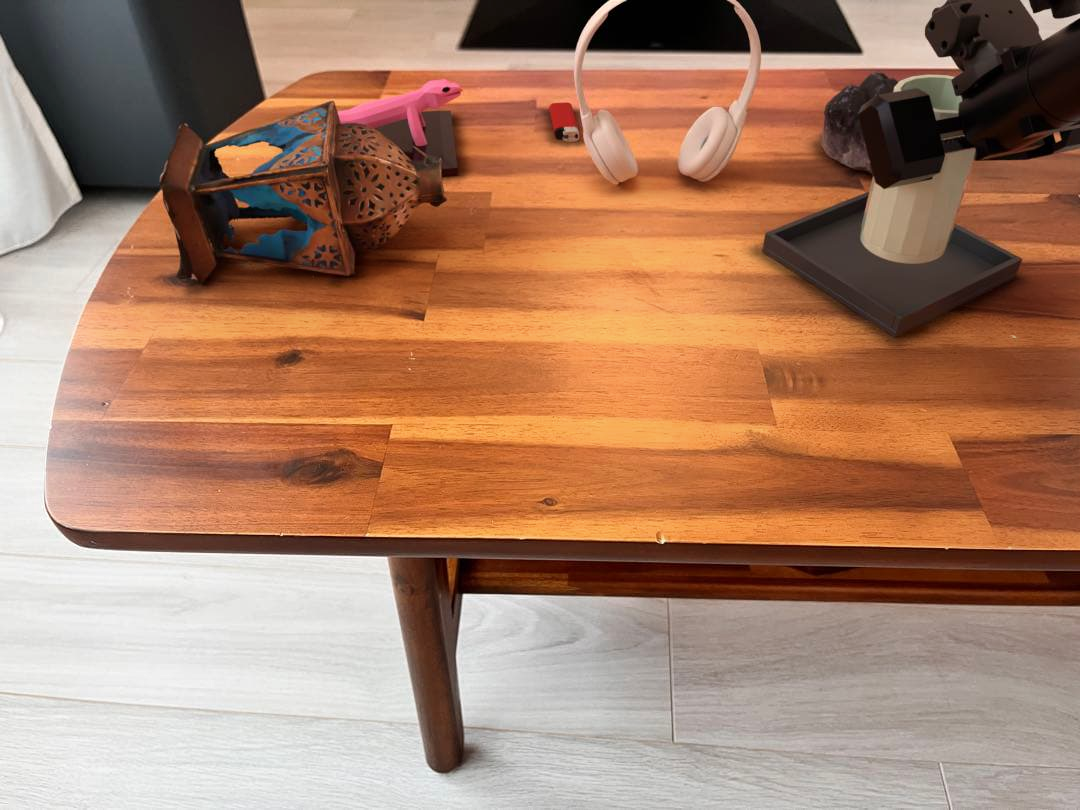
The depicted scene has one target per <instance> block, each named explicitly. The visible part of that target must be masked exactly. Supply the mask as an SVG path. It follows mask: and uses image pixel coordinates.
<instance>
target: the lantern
mask: <svg viewBox="0 0 1080 810" xmlns="http://www.w3.org/2000/svg"><path fill="white" fill-rule="evenodd" d="M337 111H338V108H337V106H336V103H335V101H334V100H329V101H327V102H323V103H321V104H317V105H315V106H312V107H310V108H306V109H304V110H301V111H298V112H297V111H296V112H295V113H292V114H289V115H285V116H283V117H281V118H277V119H275V120H272V121H269V122H267V123H264V124H261V125H258V126H256V127H252V128H250V129H247V130H244V131H241V132H239V133H235V134H233V135H230V136H227V137H225V138H222V139H219V140H216V141H215V142H210V143H206V144H205V143H204V141H203V140H202V139H203V138H201V137H200V136H199V135H198V134H197V133H196V132H194V131H193V129H191V128H190V127H189V124H187V123H185V122H184V121H182V122H181V123H180V125H179V127H178V131H177V134H176V136H175V141H174V143H173V145H172V148H171V150H170V152H169V154H168V157H167V160H166V162H165V164H164V167H163V171H162V173H161V174H160V176H159V187H160V190H161V192H162V202H163V205H164V208H165V210H166V212H167V214H168V217H169V219H170V221H171V224H172V226H173V229H174V233H175V238H176V243H177V248H178V252H179V256H180V257H179V258H180V259H179V268H178V271H177V273H176V278H177V279H178V280H183V279H184V280H185V279H186V280H187V279H188V280H195V281H197V284H198V285H202V284H204V283H205V282H206V280H207V278H208V277H209V275H210V274H211V273H212V272H213V271H214V269H215V267H216V266H217V264H218V260H219V259H222V258H223V259H227V260H231V261H239V262H243V263H253V264H259V265H267V266H273V267H279V268H287V269H297V270H304V271H306V272H307V271H310V272H318V273H325V274H332V275H336V276H337V275H339V276H343V277H351V276H354V275H355V263H356V260H355V258H356V253H357V252H366V251H367V252H368V251H373V250H376V249H378V248H379V247H381V246H383V245H384V244H386V243H387V242H388V241H390V240H391V239H392V238H393V237H394V236H396V235H397V234H398V232H399V231H400V230H401V229H402V228H403V227H404V225H405V224H406V222H407V221H408V220H409V218H410V217H411V216H412V214H413V213H414V212H415V211H416V209H417V208H418V207H419V206H420V205H421V204H429V205H431V206H432V207H435V208H436V207H437V208H438V207H440V206H441V205H442V204H444V203H445V202H447V200H448V199H447V197H446V196H444V195H445V188H444V187H445V186H444V183H443V176H442V173H441V164H442V159H440V158H438V157H435V156H428V155H426V154H425V153H423V152H422V151H421V150H419V149H418V148H416V147H415V146H413V145H411V144H409V143H408V142H406V141H405V140H404V142H406V143H407V144H408V145H410V146H411V147H413V148H414V149H416V150H417V152H418V153H421V154H422V155H423V158H424V161H423V162H422V163H420V164H415V163H413V161H412V160H411V159H410V158H409V157H407V156H406V155H405V154H404V153H403V151H402V150H401V149H400V148H399V147H398V146H397V145H395V144H394V143H393V142H392V141H391V140H389V139H388V138H386V137H385V136H384V135H382V134H381V133H380V132H379V131H377V130H375V129H374V128H372V127H370V126H367V125H364V124H359V123H344V124H343V123H342V124H341V122H340V119H339V116H338V112H337ZM258 143H268V144H267V145H268V146H269V147H275V148H278V149H280V150H282V152H281V153H279V154H277V155H275V156H274V157H272V158H271V159H270V160H269V161H267V162H264V163H262V164H261V165H259V166H258V167H256V168H255V169H254V170H253V171H252V173H249V174H244V175H239V176H234V177H230V176H229V175H227V173H225V172H224V171H223V166H222V164H220V161H219V157H218V156H216V151H217V150H219V149H222V148H225V147H227V146H228V147H229V148H230V147H233V146H235V147H238V148H241V147H248V146H250V145H254V144H258ZM237 201H238V202H239V203H245V204H247V205H248V206H247V207H243V206H242V207H241V206H239V205H238V202H237ZM280 218H282V219H285V218H286V219H287V218H292V219H293V220H296V221H299V222H301V223H303V225H304V226H307V230H295V231H293V230H290V229H284V228H282V229H279V230H277V232H276V233H274V234H272V235H271V234H268V233H265V232H264V233H263V234H262V235H258V236H257V237H256V238H257V241H258V243H255V242H247V243H245V244H244V245H243V246H242V249H240V250H238V251H236V249H235V248H234V247H232V246H231V245H229V246H228V247H227V249H224V248H223V246H224V244H225V237H226V238H227V241H230V242H232V243H234V242H235V240H234V236H235V234H236V233H235V229H236V228H235V227H234V226H233V225H232V224H230V222H231V221H233V220H234V221H235V220H238V221H239V220H248V219H251V220H253V219H280Z"/></svg>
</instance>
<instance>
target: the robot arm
mask: <svg viewBox="0 0 1080 810" xmlns="http://www.w3.org/2000/svg"><path fill="white" fill-rule="evenodd" d="M1028 3H1029V6H1030V9H1031V11H1032V14H1038V13H1040V12H1043V11H1047V10H1050V11H1051V16H1052V18H1053V19H1055V20H1060V19H1061V20H1062V19H1066V18H1070V17H1075V16H1077V15H1080V0H1028ZM1032 14H1031V13H1030V12H1029V11H1028V9H1027V8H1026V6H1025V5H1024V3H1023V1H1021V0H946V1H945V2H944V3H943V4H942V5H941V6H938V7H935V8H933V10H932V12H931V16H930V18H929V20H928V21H927V23H926V25H925V27H924V37H925V38H926V40H927V42H928V43H929V46H930V47H931V49H932V50H933V51H934V53H935V54H936V56H937V57H938V58H942V59H943V58H949V57H951V59H952V61H953V62H954V64H955V65H956V67H957V68H958V69H959V71H961V73H959V74H958V75H956V76H953V77H954V78H953V79H951V81H952V85H953V89H954V92H955V95H956V96H961V97H962V101H961V102H960V103H959V104H958V106H959V109H958V116H957V117H952V118H947V119H941V120H936V118H935V114H934V110H933V107H932V103H931V99H930V95H928V94H927V93H925V92H923V91H922V90H920V89H919V88H915V89H909V90H903V91H898V92H892V93H886V94H881V95H877V96H875V97H874V98H872V99H871V100H870V101H868V102H867V103H865V104H864V105H862V107H861V109H860V111H859V112H858V114H857V115H858V119H859V122H860V126H861V130H862V134H863V138H864V141H865V145H866V149H867V153H868V156H869V160H870V169H871V173H870V174H871V176H872V178H873V177H874V179H875V183H876V184H878V185H879V186H880V187H882V188H883V189H887V188H892V187H897V186H902V185H908V184H912V183H917V182H922V181H927V180H931V179H933V178H932V176H934V175H936V174H938V173H940V172H941V168H942V165H943V162H944V159H945V154H950V153H955V152H960V151H965V150H970V149H976V153H977V155H976V158H975V161H974V162H987V161H988V162H992V161H995V162H996V161H1028V160H1033V159H1038V158H1042V157H1048V156H1052V155H1056V154H1061V153H1066V152H1071V151H1076V150H1080V17H1079V18H1077V19H1076V20H1074V21H1073V22H1070V23H1069V24H1068V25H1066V26H1064V27H1062V28H1061V29H1060V30H1058V31H1056V32H1055V33H1053V34H1051V35H1050V36H1047V37H1046V38H1045V39H1043V38H1042V36H1041V34H1040V28H1039V25H1038V24H1037V23H1036V21H1035V20H1034V18H1033V17H1032ZM1055 133H1058V134H1059V137H1060V140H1059V141H1056V137H1055ZM960 135H965V136H960ZM955 136H960V137H959V138H958V137H956V138H951V139H946V140H941V139H944V138H949V137H955Z"/></svg>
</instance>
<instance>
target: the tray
mask: <svg viewBox="0 0 1080 810" xmlns="http://www.w3.org/2000/svg"><path fill="white" fill-rule="evenodd" d="M869 192H870V190H869V191H866V192H864V193H862V194H858V195H856V196H854V197H851V198H849V199H846V200H844V201H841V202H839V203H837V204H834V205H832V206H829V207H826V208H824V209H822V210H819V211H817V212H813V213H812V214H809V215H806V216H804V217H802V218H799V219H796V220H794V221H792V222H789V223H786V224H784V225H781V226H780V227H776V228H774V229H771V230H769V231H765V233H764V239H763V245H762V250H761V252H762V253H763V254H765V255H767V256H768V257H770V258H771V259H773V260H775V261H776V262H778V263H779V264H781V265H782V266H783V267H784V268H787V269H788V270H790V271H791V272H793V273H795V274H796V275H798V276H799V277H800V278H802V279H804V280H805V281H807V282H808V283H810V284H811V285H812V286H814V287H816V288H817V289H819V290H820V291H822V292H824V294H827V295H828V296H830V297H831V298H833V299H834V300H836V301H837V302H839V303H840V304H842V305H844V306H845V307H847V308H848V309H850V310H851V311H852V312H855V313H856V314H857V315H859V316H860V317H862V318H863V319H865V320H866V321H868V322H869V323H871V324H872V325H874V326H876V327H877V328H879V329H880V330H882V331H884V332H885V333H887V334H888V335H890V336H891V337H893V338H894V339H896V338H898V337H900V336H902V335H904V334H906V333H908V332H910V331H912V330H914V329H915V328H918V327H920V326H922V325H924V324H926V323H928V322H930V321H932V320H934V319H936V318H938V317H940V316H942V315H944V314H946V313H948V312H950V311H951V310H953V309H956V308H957V307H960V306H962V305H964V304H966V303H967V302H969V301H972V300H974V299H975V298H978V297H980V296H981V295H983V294H986V293H987V292H990V291H993V290H994V289H996V288H998V287H1000V286H1001V285H1004V284H1006V283H1007V282H1010V281H1011V280H1014V279H1015V278H1016V276H1017V273H1018V271H1019V269H1020V266H1021V264H1022V262H1023V258H1022V257H1020V256H1018V255H1016V254H1014V253H1012V252H1011V251H1009V250H1006V249H1005V248H1003V247H1001V246H999V245H997V244H995V243H993V242H991V241H990V240H988V239H985V238H984V237H982V236H980V235H978V234H976V233H974V232H972V231H970V230H968V229H967V228H965V227H963V226H961V225H959V224H957V223H955V225H954V228H953V231H952V234H951V238H950V241H949V242H948V245H947V248H946V251H945V253H944V254H943V255H942V256H941V257H939V258H938V259H936V260H934V261H931V262H927V263H920V264H906V263H898V262H893V261H889V260H886V259H883V258H881V257H879V256H877V255H875V254H873V253H871V252H870V251H869V250H867V249H866V248H865V247H864V245H863V244H862V242H861V239H860V233H861V229H862V227H861V226H862V221H863V217H864V213H865V209H866V204H867V200H868V196H869Z"/></svg>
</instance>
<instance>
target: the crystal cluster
mask: <svg viewBox="0 0 1080 810" xmlns="http://www.w3.org/2000/svg"><path fill="white" fill-rule="evenodd" d="M898 82H899V81H898V80H897V79H896V78H894V77H891V78H890V77H888V76H887V75H886V74H885V73H884V72H881V71H876V72H871V73H869V74H868V76H867V77H866V78H865V79H864V80H863V81H862V82H861V84H859V85H858V86H857V85H854V84H853V83H852V84H849V85H847V86H845V87H843V88H842V89H841V90H840V91H839V92H838V93H837V94H835V95H834V96H832V98H831V99H830V100H829V101H828V102H827V103H826V104H825V108H824V111H823V114H824V121H823V128H822V133H821V147H822V149H823V152H824V153H825V154H826V155H827V156H828V157H829V158H830V159H833V160H835V161H837V162H839V163H840V164H843V165H845V166H846V167H848V168H851V169H853V170H855V171H865V172H868V173H869V174H872V173H871V169H870V160H869V156H868V153H867V149H866V145H865V141H864V138H863V134H862V130H861V126H860V122H859V119H858V115H857V114H858V112H859V111H860V109H861V107H862V105H864V104H865V103H867V102H868V101H870V100H871V99H872V98H874V97H875V96H877V95H881V94H886V93H892V92H893V90H894V87H895V86H896V85H897V84H898Z"/></svg>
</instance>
